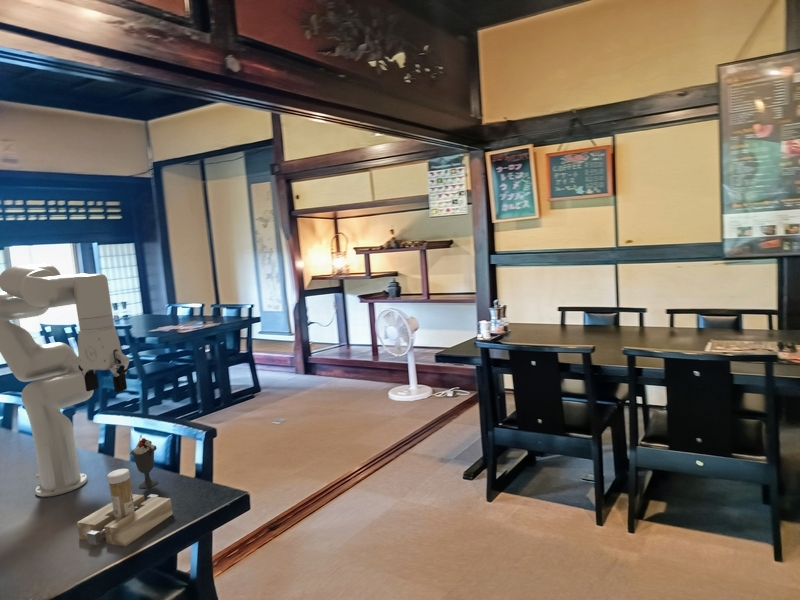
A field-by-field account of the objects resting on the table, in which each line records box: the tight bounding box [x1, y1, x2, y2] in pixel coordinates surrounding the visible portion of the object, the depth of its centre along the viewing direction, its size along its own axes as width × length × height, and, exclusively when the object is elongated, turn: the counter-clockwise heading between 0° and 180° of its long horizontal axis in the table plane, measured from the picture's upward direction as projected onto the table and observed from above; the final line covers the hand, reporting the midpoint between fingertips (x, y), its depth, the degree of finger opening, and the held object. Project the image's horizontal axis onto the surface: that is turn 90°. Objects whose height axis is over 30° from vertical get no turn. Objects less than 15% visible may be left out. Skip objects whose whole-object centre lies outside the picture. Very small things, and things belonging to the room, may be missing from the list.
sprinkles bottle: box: [107, 468, 135, 519], centre depth 127 cm, size 5×5×14 cm
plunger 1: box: [87, 521, 112, 545], centre depth 122 cm, size 2×7×2 cm, turn 159°
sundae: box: [129, 434, 159, 490], centre depth 149 cm, size 7×7×15 cm
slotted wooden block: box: [76, 493, 174, 547], centre depth 127 cm, size 14×14×4 cm
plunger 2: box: [134, 493, 159, 511], centre depth 132 cm, size 2×7×2 cm, turn 159°
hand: (106, 390), depth 136 cm, fingers open, 9 cm apart
